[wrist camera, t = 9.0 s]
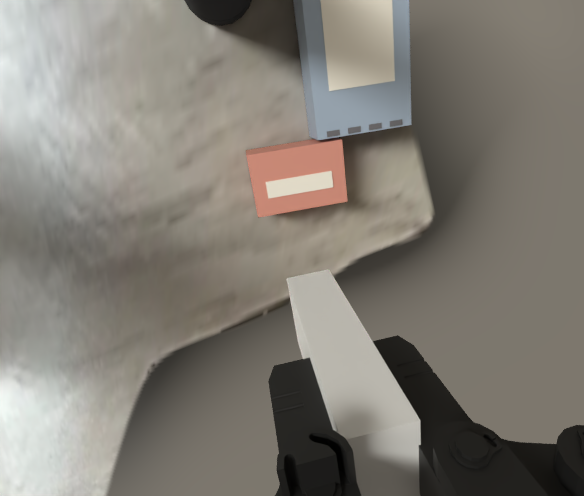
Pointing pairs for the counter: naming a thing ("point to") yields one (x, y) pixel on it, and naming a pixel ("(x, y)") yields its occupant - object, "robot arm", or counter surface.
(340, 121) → the blue labeled box
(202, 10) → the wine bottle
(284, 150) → the red box
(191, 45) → the counter surface
